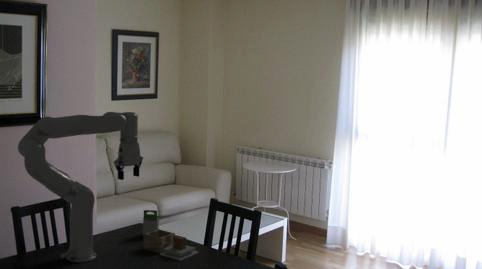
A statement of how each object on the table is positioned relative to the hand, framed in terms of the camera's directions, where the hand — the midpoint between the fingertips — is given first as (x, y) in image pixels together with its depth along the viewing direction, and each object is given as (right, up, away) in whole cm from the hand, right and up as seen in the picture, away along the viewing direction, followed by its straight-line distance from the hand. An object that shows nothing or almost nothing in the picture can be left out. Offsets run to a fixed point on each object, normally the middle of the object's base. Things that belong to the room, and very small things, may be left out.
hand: (128, 177), depth 248 cm
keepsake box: (+13, -33, +7) cm, 36 cm away
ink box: (+6, -31, +26) cm, 41 cm away
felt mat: (+23, -34, +1) cm, 41 cm away
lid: (+23, -33, 0) cm, 40 cm away
